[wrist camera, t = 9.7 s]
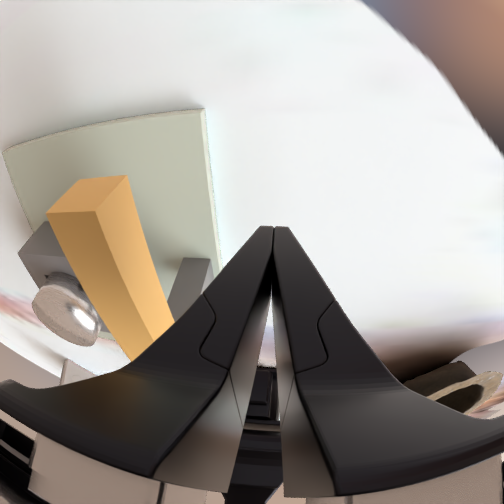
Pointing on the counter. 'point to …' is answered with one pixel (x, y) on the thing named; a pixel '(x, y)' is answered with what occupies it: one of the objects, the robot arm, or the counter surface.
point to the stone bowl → (456, 386)
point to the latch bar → (112, 259)
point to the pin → (67, 309)
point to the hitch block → (143, 190)
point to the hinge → (74, 373)
